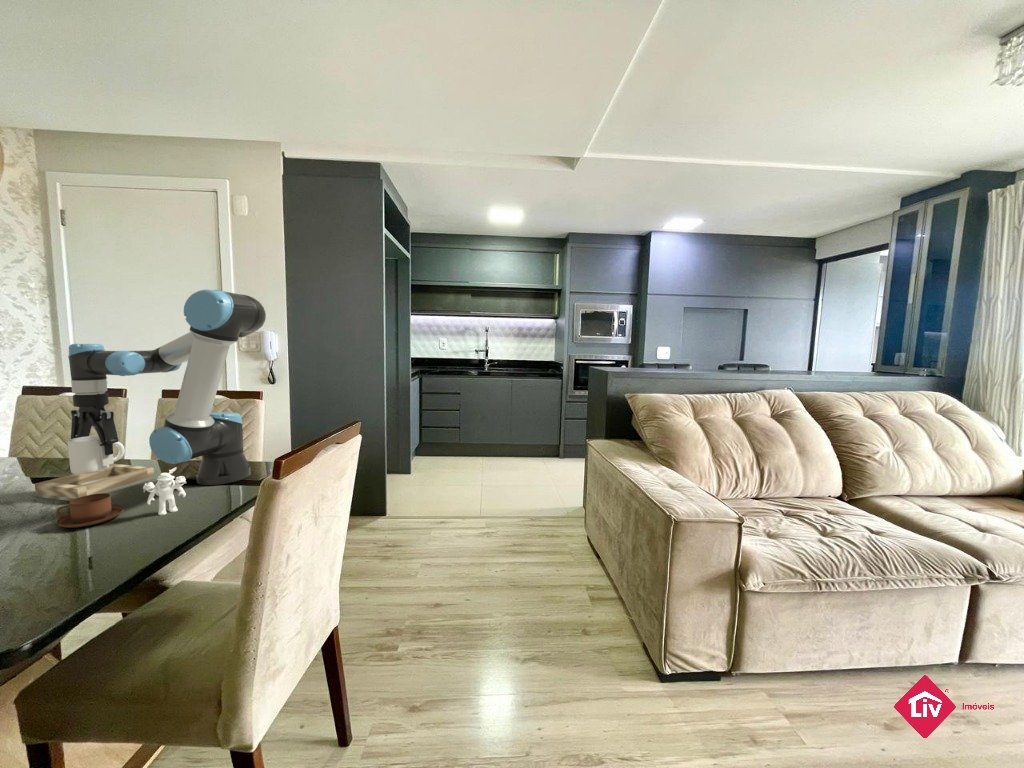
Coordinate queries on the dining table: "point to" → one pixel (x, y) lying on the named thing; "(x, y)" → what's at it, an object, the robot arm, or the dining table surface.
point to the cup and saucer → (88, 511)
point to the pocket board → (94, 482)
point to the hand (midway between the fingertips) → (96, 463)
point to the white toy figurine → (165, 491)
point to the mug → (88, 455)
